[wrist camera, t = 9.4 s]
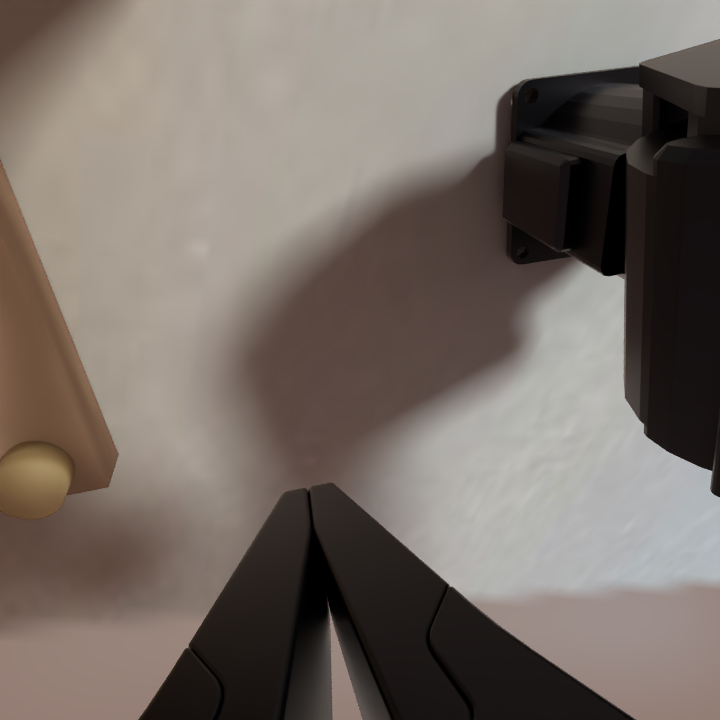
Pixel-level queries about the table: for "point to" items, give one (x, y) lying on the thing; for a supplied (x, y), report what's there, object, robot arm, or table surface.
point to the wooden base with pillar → (41, 386)
